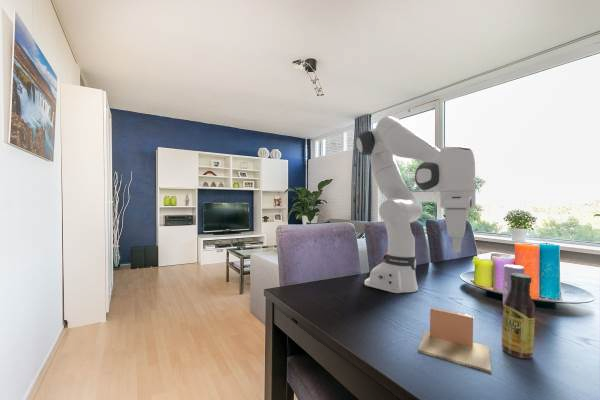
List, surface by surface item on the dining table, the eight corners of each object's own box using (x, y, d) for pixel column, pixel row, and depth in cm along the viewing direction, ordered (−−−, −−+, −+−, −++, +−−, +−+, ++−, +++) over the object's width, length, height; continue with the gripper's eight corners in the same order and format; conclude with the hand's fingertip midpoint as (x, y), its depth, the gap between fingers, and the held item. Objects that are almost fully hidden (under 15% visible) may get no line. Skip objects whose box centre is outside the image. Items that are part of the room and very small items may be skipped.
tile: (429, 335, 75) (430, 308, 75) (430, 333, 77) (431, 306, 76) (472, 347, 70) (473, 317, 70) (472, 344, 71) (473, 315, 71)
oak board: (418, 351, 68) (418, 349, 68) (425, 332, 78) (425, 330, 78) (491, 373, 60) (491, 370, 60) (488, 348, 70) (488, 346, 70)
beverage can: (527, 311, 94) (528, 268, 94) (508, 310, 96) (509, 267, 96) (517, 305, 100) (518, 264, 100) (499, 303, 101) (500, 263, 101)
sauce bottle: (495, 346, 71) (496, 270, 71) (517, 346, 72) (518, 270, 72) (517, 361, 65) (518, 278, 65) (541, 360, 65) (543, 277, 65)
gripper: (447, 201, 89) (447, 244, 89) (441, 201, 72) (442, 254, 72) (470, 201, 86) (470, 245, 85) (469, 201, 68) (470, 256, 68)
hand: (457, 249), depth 78 cm, fingers open, 8 cm apart
